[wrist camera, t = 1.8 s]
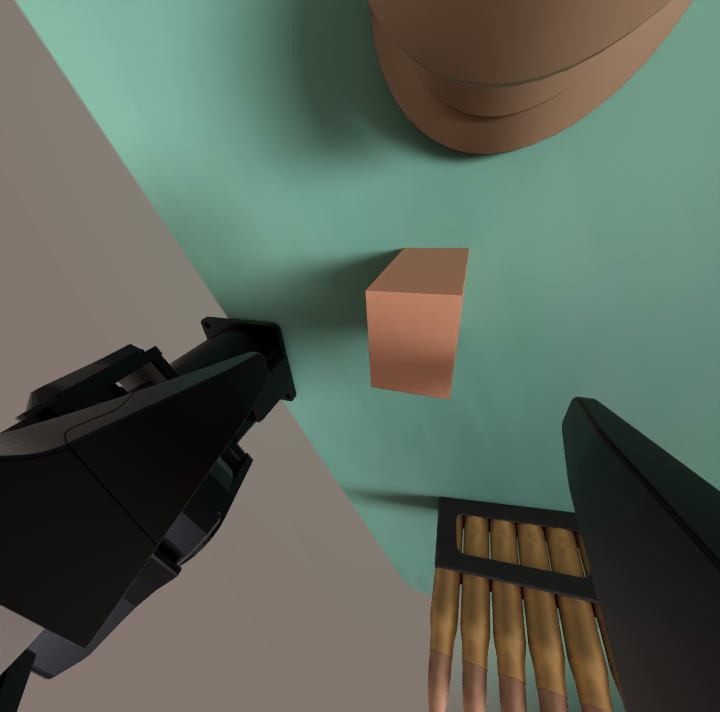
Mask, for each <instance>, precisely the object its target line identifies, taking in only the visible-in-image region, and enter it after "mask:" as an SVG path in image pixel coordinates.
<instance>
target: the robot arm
mask: <svg viewBox="0 0 720 712" xmlns="http://www.w3.org/2000/svg"><path fill="white" fill-rule="evenodd" d="M201 324H202V327H203V329H204V332H205V334H206V336H207V339H208V340H206V341H205V342H203V343H202V344H200V345H198V346H197V347H196V348H194V349H192V350H191V351H190V352H188V353H186V354H185V355H183V356H181V357H180V358H178V359H177V360H175V361H174V362H172V363H171V364H168V362H167V361H166V360H165V359H164V358H163V357H162V353H161V352H160V350H159V349H158V348H157V347H156V346H154V347H153V348H151V349H149V350H147V351H146V352H145V351H144V350H143V349H140V348H137V347H135V346H133V345H131V344H129V345H127V346H125V347H124V348H121V349H120V350H118V351H116V352H114V353H112V354H110V355H108V356H106V357H104V358H102V359H100V360H98V361H96V362H94V363H92V364H89V365H87V366H85V367H83V368H81V369H79V370H77V371H74V372H72V373H70V374H68V375H66V376H64V377H62V378H59V379H57V380H55V381H53V382H51V383H49V384H47V385H44V386H42V387H41V388H39V389H37V390H35V391H33V392H31V393H30V397H29V400H28V404H27V408H26V411H25V412H24V413H23V414H21V415H20V416H18V417H16V418H15V419H16V420H18V421H19V423H17V424H15V425H14V426H12V427H10V428H8V429H7V430H5V431H3V432H1V433H0V712H17V709H18V706H19V703H20V701H21V698H22V695H23V692H24V689H25V686H26V683H27V680H28V677H29V675H30V672H33V673H34V674H36V675H38V676H40V677H42V678H44V679H51V678H53V677H55V676H56V675H58V674H60V673H61V672H63V671H65V670H67V669H68V668H70V667H71V666H73V665H75V664H76V663H78V662H80V661H81V660H83V659H84V658H86V657H87V656H88V655H90V654H91V653H92V652H93V651H94V650H95V649H96V648H97V646H98V645H99V644H100V643H101V642H102V641H103V640H104V639H105V638H106V637H107V636H108V635H109V634H110V633H111V632H112V631H113V630H114V629H115V628H116V627H117V626H118V625H119V623H120V622H121V621H122V620H123V619H124V618H125V617H126V616H127V615H128V614H129V613H130V612H132V611H133V609H135V607H137V606H138V605H139V604H140V603H141V602H142V601H144V600H145V599H146V598H147V597H149V596H150V595H151V594H152V593H153V592H154V591H156V590H157V589H159V588H160V587H162V586H163V585H165V584H166V583H168V582H169V581H171V580H172V579H174V578H175V577H177V576H178V574H179V573H180V571H181V567H180V565H182V564H184V563H186V562H187V561H188V560H190V559H191V558H192V557H194V556H195V555H196V554H197V553H198V552H199V551H200V550H201V549H202V548H204V546H205V545H206V544H207V543H208V542H209V541H210V540H211V538H212V537H213V536H214V535H215V533H216V532H217V530H218V529H219V528H220V526H221V524H222V522H223V520H224V519H225V517H226V515H227V512H228V510H229V508H230V506H231V504H232V502H233V500H234V498H235V496H236V494H237V492H238V490H239V488H240V486H241V484H242V482H243V480H244V478H245V476H246V474H247V471H248V470H249V468H250V466H251V464H252V462H253V459H252V458H251V457H250V455H249V454H248V453H245V452H244V451H243V450H242V448H241V447H240V446H239V445H238V444H237V443H238V442H239V441H240V439H241V438H242V437H243V436H244V435H245V433H246V432H247V431H248V430H249V429H250V428H251V427H252V426H253V424H254V423H255V422H261V421H262V420H263V419H264V418H265V417H266V415H267V414H268V413H269V412H270V411H271V410H272V408H273V407H274V406H275V405H276V404H277V403H278V401H279V400H280V399H281V400H287V401H293V400H294V398H295V397H296V391H295V387H294V383H293V379H292V375H291V370H290V366H289V362H288V358H287V354H286V350H285V346H284V342H283V338H282V334H281V330H280V328H279V327H278V325H276V324H274V323H267V322H257V321H247V320H237V319H227V318H217V317H206V318H204V319H202V321H201ZM272 330H273V331H274V333H273V332H272ZM117 382H119V383H120V384H121V385H122V386H123V387H124V388H125V389H126V390H127V391H126V390H125V389H124V388H123V387H118V386H117V385H116V384H115V383H117ZM562 435H563V443H564V451H565V459H566V468H567V476H568V483H569V489H570V493H571V497H572V501H573V505H574V509H575V513H576V517H577V521H578V525H579V529H580V532H581V536H582V540H583V544H584V548H585V552H586V556H587V560H588V564H589V567H590V571H591V575H592V579H593V583H594V587H595V591H596V595H597V599H598V603H599V606H600V610H601V614H602V618H603V622H604V626H605V630H606V634H607V638H608V641H609V645H610V649H611V653H612V657H613V661H614V665H615V669H616V673H617V677H618V680H619V684H620V688H621V692H622V696H623V700H624V704H625V708H626V712H720V491H719V490H718V489H716V488H715V487H714V486H712V485H711V484H710V483H708V482H707V481H705V480H704V479H703V478H701V477H700V476H699V475H697V474H696V473H695V472H693V471H692V470H691V469H689V468H688V467H687V466H685V465H684V464H683V463H681V462H680V461H678V460H677V459H676V458H674V457H673V456H672V455H670V454H669V453H668V452H666V451H665V450H664V449H662V448H661V447H660V446H658V445H657V444H655V443H654V442H653V441H651V440H650V439H649V438H647V437H646V436H645V435H643V434H642V433H641V432H639V431H638V430H637V429H635V428H634V427H632V426H631V425H630V424H628V423H627V422H626V421H624V420H623V419H622V418H620V417H619V416H618V415H616V414H615V413H614V412H612V411H611V410H609V409H608V408H607V407H605V406H604V405H603V404H601V403H600V402H599V401H597V400H595V399H592V398H584V397H575V398H573V399H572V401H571V403H570V405H569V408H568V410H567V412H566V415H565V417H564V419H563V423H562Z"/></svg>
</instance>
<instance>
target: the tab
mask: <svg viewBox="0 0 720 712" xmlns="http://www.w3.org/2000/svg"><path fill="white" fill-rule="evenodd" d="M468 253H469V248H404V249H403V250H402V251H401V252H400V253H399V254H398V255H397V256H396V258H395V259H394V260H393V261H392V262H391V263H390V264H389V265H388V266H387V267H386V269H385V270H384V271H383V272H382V273H381V274H380V275H379V276H378V277H377V278H376V280H375V281H374V282H373V283H372V284H371V285H370V286H369V287H368V288H367V289H366V290H365V293H366V308H367V324H368V339H369V355H370V371H371V386H372V387H375V388H381V389H387V390H394V391H400V392H406V393H412V394H418V395H425V396H431V397H437V398H443V399H450V392H451V384H452V377H453V370H454V362H455V355H456V347H457V340H458V333H459V325H460V317H461V309H462V301H463V293H464V285H465V277H466V269H467V261H468Z"/></svg>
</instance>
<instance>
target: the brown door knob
mask: <svg viewBox="0 0 720 712" xmlns="http://www.w3.org/2000/svg"><path fill="white" fill-rule="evenodd" d="M367 1H368V3H369V5H370V15H371V26H372V32H373V37H374V43H375V49H376V52H377V56H378V59H379V63H380V67H381V70H382V72H383V75H384V77H385V80H386V82H387V85H388V88H389V89H390V91H391V93H392V95H393V97H394V99H395V100H396V102H397V104H398V105H399V107H400V108H401V110H402V111H403V112H404V114H405V115H406V116H407V118H408V119H409V120H410V121H411V122H412V123H413V124H414V125H415V126H416V127H417V128H418V129H419V130H420V131H422V132H423V133H424V134H426V135H427V136H429V137H430V138H431V139H433V140H435V141H437V142H439V143H441V144H443V145H445V146H447V147H449V148H452V149H455V150H458V151H462V152H467V153H474V154H496V153H502V152H508V151H513V150H517V149H520V148H523V147H527V146H530V145H533V144H535V143H537V142H540V141H542V140H544V139H547V138H549V137H551V136H553V135H555V134H557V133H559V132H561V131H562V130H564V129H566V128H568V127H569V126H571V125H573V124H575V123H576V122H578V121H579V120H580V119H582V118H583V117H585V116H586V115H587V114H589V113H590V112H592V111H593V110H595V109H596V108H597V107H599V106H600V105H601V104H602V103H603V102H604V101H606V100H607V99H608V98H609V97H610V96H611V95H613V94H614V93H615V92H616V91H617V90H619V89H620V88H621V87H622V86H623V85H624V84H625V83H626V82H627V81H628V80H629V79H630V78H631V77H632V76H633V75H634V74H635V73H636V72H637V71H638V70H639V69H640V68H641V67H642V66H643V65H644V63H645V62H646V61H647V60H648V59H649V57H650V56H651V55H652V54H653V53H654V52H655V50H656V49H657V48H658V47H659V46H660V45H661V43H662V42H663V41H664V40H665V39H666V37H667V36H668V35H669V33H670V32H671V31H672V29H673V28H674V26H675V25H676V24H677V22H678V21H679V20H680V18H681V17H682V15H683V14H684V13H685V11H686V10H687V9H688V7H689V6H690V4H691V2H692V1H693V0H367Z"/></svg>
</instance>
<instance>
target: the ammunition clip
mask: <svg viewBox="0 0 720 712" xmlns="http://www.w3.org/2000/svg"><path fill="white" fill-rule="evenodd" d="M463 529H464V548H463V553H462V537H463ZM489 532H490V543H491V559H489ZM516 536H517V537H516ZM517 538H518V548H519V558H520V565H519V559H518V548H517ZM546 541H547V546H548V552H549V557H550V563H551V569H552V571H551V570H550V564H549V558H548V552H547V546H546ZM578 548H579V551H580V555H581V559H582V563H583V566H584V570H585V574H586V577H585V576H584V572H583V568H582V563H581V559H580V555H579V551H578ZM460 584H462V598H461V637H462V663H463V680H462V681H463V683H462V685H463V706H464V712H485V707H486V688H487V685H486V684H487V674H486V673H487V656H488V647H489V640H490V592H492V608H493V636H494V643H495V648H496V654H497V665H498V676H499V690H500V704H501V712H527V706H526V693H525V692H526V691H525V685H526V681H525V655H526V639H525V628H524V616H523V605H522V599H523V600H524V606H525V616H526V626H527V635H528V645H529V650H530V654H531V658H532V662H533V665H534V671H535V679H536V686H537V690H538V696H539V705H540V712H568V705H567V692H566V684H565V657H564V650H563V644H562V638H561V631H560V625H559V619H558V613H557V608H559V613H560V619H561V624H562V630H563V636H564V641H565V647H566V652H567V657H568V661H569V665H570V668H571V670H572V674H573V677H574V680H575V683H576V688H577V693H578V697H579V701H580V705H581V708H582V712H613V709H612V703H611V698H610V693H609V680H608V671H607V666H606V662H605V658H604V654H603V649H602V646H601V642H600V637H599V633H598V630H597V625H596V621H595V617H597V621H598V624H599V628H600V632H601V636H602V640H603V644H604V647H605V651H606V655H607V659H608V663H609V667H610V670H611V673H612V676H613V679H614V681H615V684H616V686H617V689H618V691H619V694H620V696H621V699H622V702H623V705H624V709H625V712H626V708H625V704H624V700H623V696H622V692H621V688H620V684H619V680H618V677H617V673H616V669H615V665H614V661H613V657H612V653H611V649H610V645H609V641H608V638H607V634H606V630H605V626H604V622H603V618H602V614H601V610H600V606H599V603H598V599H597V595H596V591H595V587H594V583H593V579H592V575H591V571H590V567H589V564H588V560H587V556H586V552H585V548H584V544H583V540H582V536H581V532H580V529H579V525H578V521H577V517H576V513H572V512H563V511H555V510H547V509H539V508H530V507H522V506H514V505H505V504H497V503H489V502H480V501H472V500H464V499H456V498H447V497H440V498H439V510H438V525H437V539H436V554H435V575H434V585H433V594H432V604H431V613H430V623H431V639H430V659H429V671H428V702H429V712H445V708H446V704H447V699H448V692H449V685H450V676H451V662H452V657H453V647H454V640H455V635H456V631H457V623H458V608H459V591H460Z"/></svg>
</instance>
